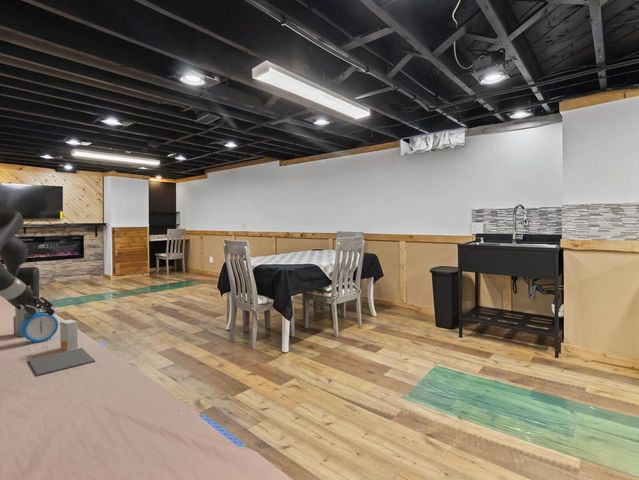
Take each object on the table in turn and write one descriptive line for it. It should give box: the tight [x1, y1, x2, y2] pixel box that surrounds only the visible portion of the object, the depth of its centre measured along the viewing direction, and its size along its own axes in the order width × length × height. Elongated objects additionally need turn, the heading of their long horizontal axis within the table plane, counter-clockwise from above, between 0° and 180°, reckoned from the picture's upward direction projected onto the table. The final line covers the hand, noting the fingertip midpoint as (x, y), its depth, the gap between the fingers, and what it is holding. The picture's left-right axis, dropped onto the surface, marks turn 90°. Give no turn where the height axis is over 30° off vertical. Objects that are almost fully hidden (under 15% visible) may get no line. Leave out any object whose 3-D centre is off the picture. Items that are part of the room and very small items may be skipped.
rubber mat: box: [28, 347, 96, 377], centre depth 138 cm, size 20×18×1 cm
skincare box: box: [59, 319, 79, 351], centre depth 152 cm, size 6×4×12 cm
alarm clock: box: [20, 309, 59, 344], centre depth 162 cm, size 13×6×15 cm, turn 143°
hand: (43, 313), depth 140 cm, fingers open, 8 cm apart
